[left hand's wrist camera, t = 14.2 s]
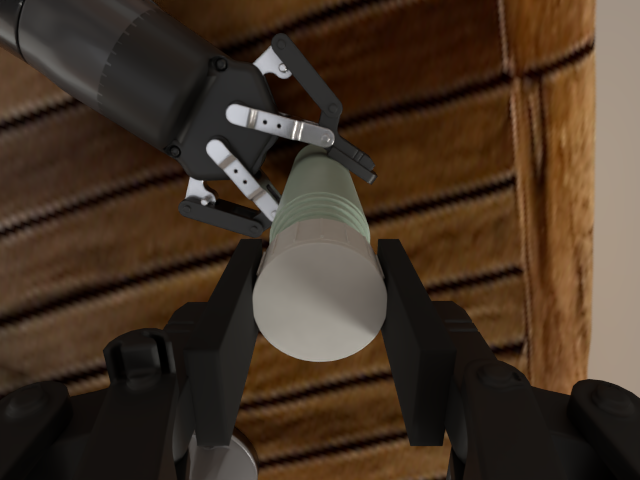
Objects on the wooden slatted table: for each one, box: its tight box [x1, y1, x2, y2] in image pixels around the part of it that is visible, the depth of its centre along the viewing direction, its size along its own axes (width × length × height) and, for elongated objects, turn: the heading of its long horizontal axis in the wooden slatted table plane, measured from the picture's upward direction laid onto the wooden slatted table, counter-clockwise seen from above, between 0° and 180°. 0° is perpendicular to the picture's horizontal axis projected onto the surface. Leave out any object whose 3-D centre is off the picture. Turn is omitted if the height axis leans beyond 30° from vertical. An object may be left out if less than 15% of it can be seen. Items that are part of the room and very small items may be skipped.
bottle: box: [270, 144, 370, 244], centre depth 23 cm, size 5×5×22 cm
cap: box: [252, 218, 387, 362], centre depth 14 cm, size 4×4×2 cm
